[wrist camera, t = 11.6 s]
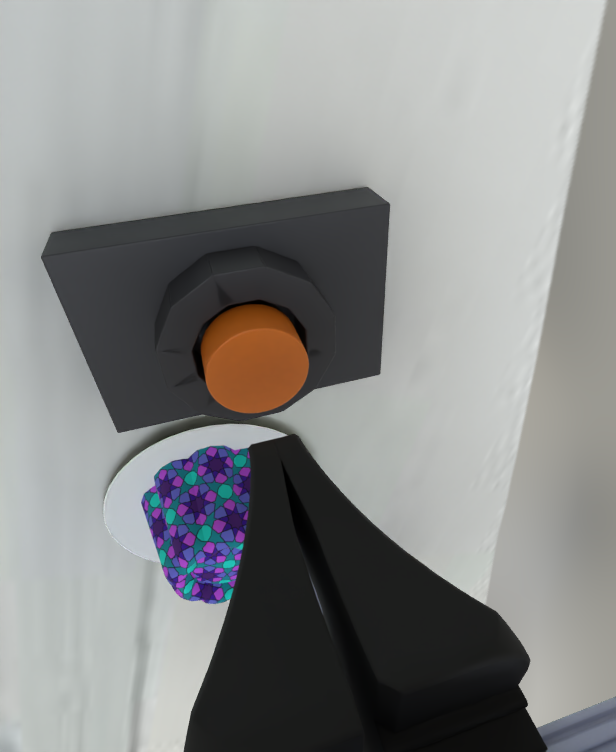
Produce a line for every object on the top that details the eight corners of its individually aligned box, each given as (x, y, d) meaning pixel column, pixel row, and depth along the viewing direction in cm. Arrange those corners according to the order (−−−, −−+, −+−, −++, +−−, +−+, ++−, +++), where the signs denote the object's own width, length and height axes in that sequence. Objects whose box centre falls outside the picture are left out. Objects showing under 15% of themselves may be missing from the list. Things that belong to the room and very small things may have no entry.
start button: (293, 294, 16) (306, 319, 15) (299, 374, 19) (311, 401, 17) (191, 313, 16) (195, 340, 14) (210, 393, 18) (215, 423, 17)
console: (368, 186, 18) (412, 219, 15) (363, 349, 23) (396, 398, 20) (50, 232, 16) (29, 281, 13) (119, 401, 21) (116, 464, 18)
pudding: (98, 416, 21) (88, 507, 17) (335, 411, 26) (371, 484, 22) (107, 566, 28) (101, 656, 24) (294, 543, 32) (316, 617, 28)
